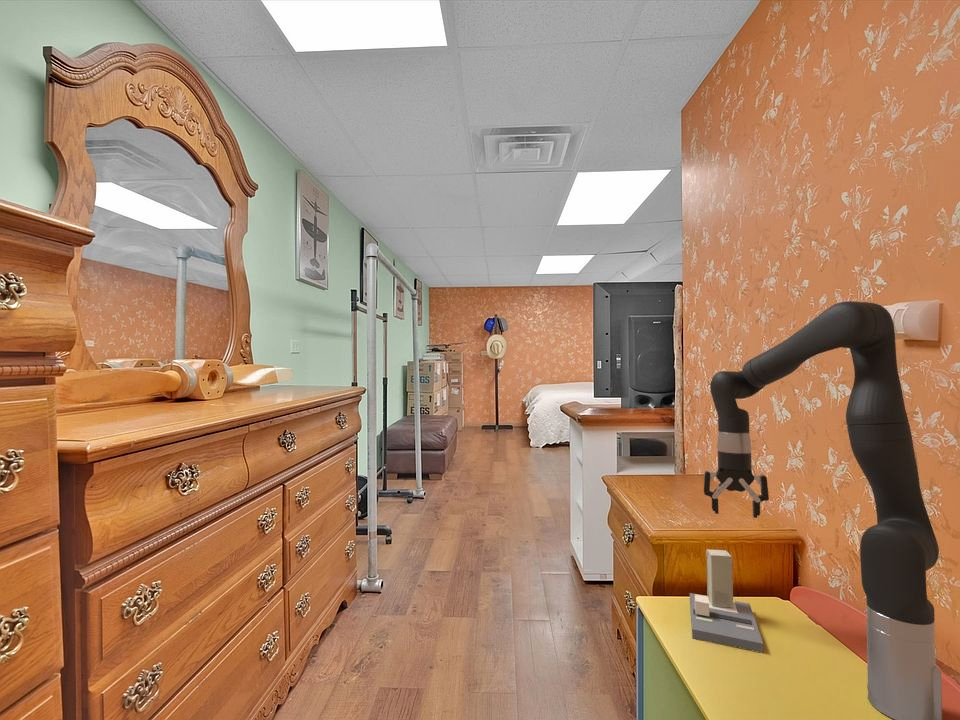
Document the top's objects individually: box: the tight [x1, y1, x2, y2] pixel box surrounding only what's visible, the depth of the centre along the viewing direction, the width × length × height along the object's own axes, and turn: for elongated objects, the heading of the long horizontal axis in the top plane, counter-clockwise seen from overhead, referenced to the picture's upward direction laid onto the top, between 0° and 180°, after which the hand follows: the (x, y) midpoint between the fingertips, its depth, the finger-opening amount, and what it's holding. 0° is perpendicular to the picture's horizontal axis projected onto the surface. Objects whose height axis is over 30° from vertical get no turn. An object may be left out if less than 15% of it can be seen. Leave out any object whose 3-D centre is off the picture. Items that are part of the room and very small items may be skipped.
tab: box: [694, 593, 709, 616], centre depth 114 cm, size 3×4×3 cm
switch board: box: [689, 592, 764, 654], centre depth 113 cm, size 14×20×2 cm
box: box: [705, 548, 734, 608], centre depth 119 cm, size 5×4×13 cm
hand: (735, 515), depth 118 cm, fingers open, 8 cm apart
